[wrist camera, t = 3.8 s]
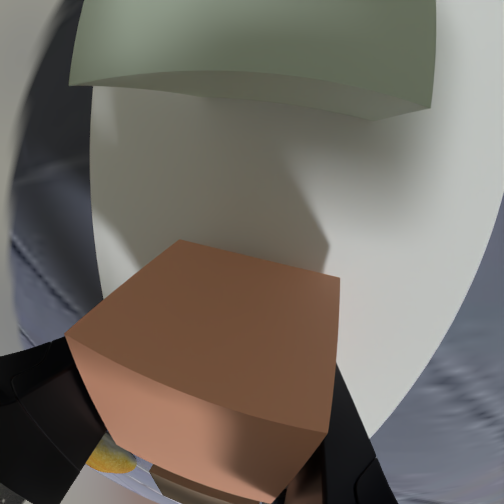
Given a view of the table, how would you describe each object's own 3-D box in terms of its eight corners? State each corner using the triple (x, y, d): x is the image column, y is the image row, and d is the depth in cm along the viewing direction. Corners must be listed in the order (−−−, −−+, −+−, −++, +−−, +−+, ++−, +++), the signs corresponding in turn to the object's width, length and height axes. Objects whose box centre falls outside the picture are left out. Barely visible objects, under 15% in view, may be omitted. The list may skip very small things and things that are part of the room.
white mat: (330, 471, 14) (329, 478, 13) (141, 413, 16) (137, 419, 16) (505, 8, 3) (512, 3, 3) (128, -31, 6) (118, -35, 5)
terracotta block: (301, 387, 9) (270, 503, 5) (181, 351, 10) (116, 444, 6) (340, 277, 7) (327, 433, 3) (179, 239, 8) (64, 333, 4)
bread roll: (149, 460, 22) (132, 488, 19) (121, 460, 26) (107, 481, 23) (84, 408, 21) (62, 436, 18) (70, 418, 25) (53, 439, 22)
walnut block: (267, 459, 14) (245, 523, 10) (194, 437, 14) (163, 495, 10) (282, 426, 12) (256, 509, 8) (191, 398, 12) (148, 471, 8)
